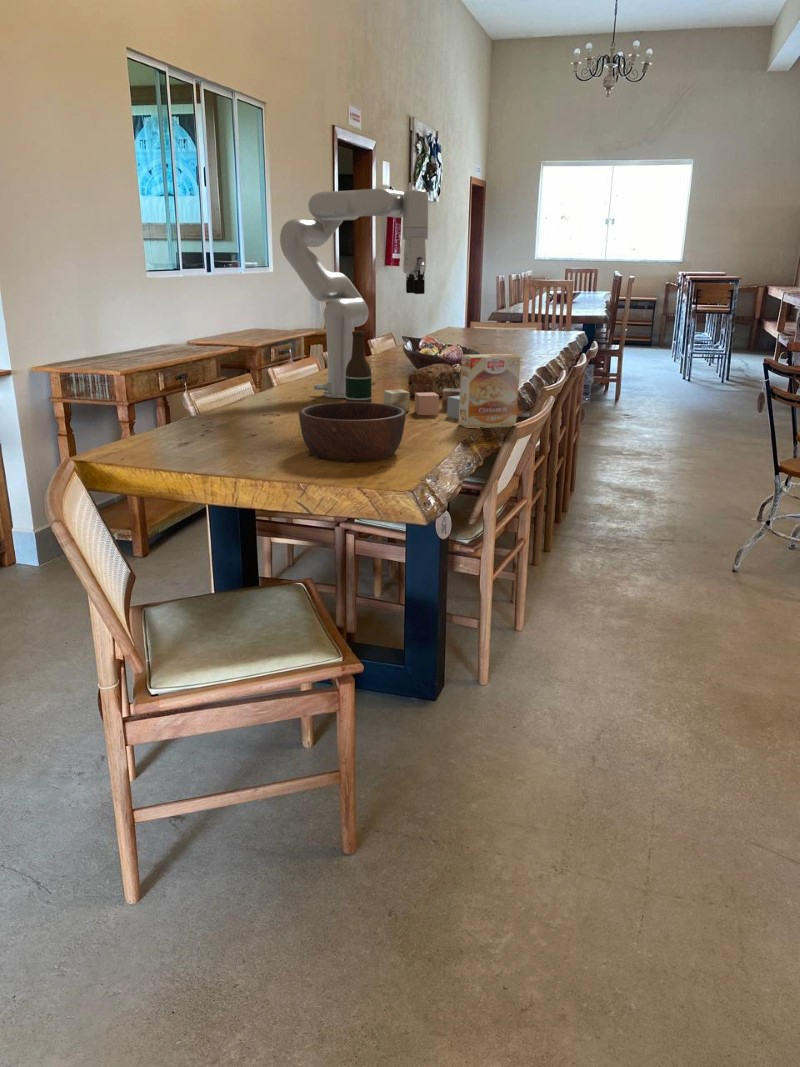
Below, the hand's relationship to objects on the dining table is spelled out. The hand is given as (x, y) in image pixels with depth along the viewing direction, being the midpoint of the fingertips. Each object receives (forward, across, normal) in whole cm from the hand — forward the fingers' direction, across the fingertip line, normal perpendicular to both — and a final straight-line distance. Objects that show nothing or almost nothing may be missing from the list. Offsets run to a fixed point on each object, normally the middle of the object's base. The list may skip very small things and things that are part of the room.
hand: (415, 293), depth 245 cm
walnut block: (+34, +12, +9) cm, 37 cm away
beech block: (+34, +12, -9) cm, 37 cm away
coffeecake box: (+35, +39, +11) cm, 53 cm away
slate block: (+34, +25, +8) cm, 44 cm away
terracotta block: (+34, +18, -1) cm, 39 cm away
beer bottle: (+34, +13, -21) cm, 42 cm away
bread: (+34, -17, +12) cm, 40 cm away
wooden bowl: (+35, +65, -32) cm, 80 cm away
